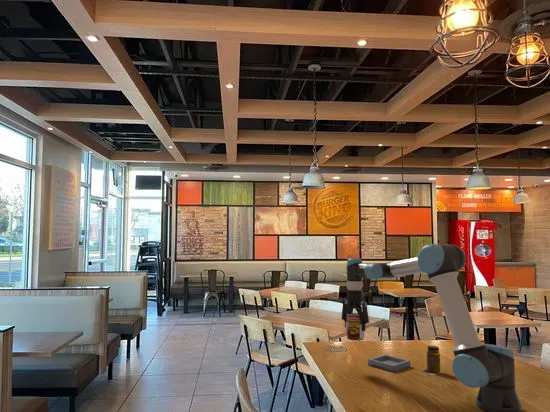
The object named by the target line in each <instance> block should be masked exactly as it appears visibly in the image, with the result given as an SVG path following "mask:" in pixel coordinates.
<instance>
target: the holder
mask: <svg viewBox="0 0 550 412" xmlns="http://www.w3.org/2000/svg"><path fill="white" fill-rule="evenodd" d="M367 366H370V367H374V368H377V369H381V370H383V371H388V372H390V373H396V372H399V371H402V370H405V369H408V368H411V360H410V359H409V360H408V359H405V358H401V357H398V356H393V355H389V354H381V355H379V356H375V357H372V358H371V357H370V358H368V359H367Z"/></svg>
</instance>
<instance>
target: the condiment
mask: <svg viewBox="0 0 550 412" xmlns="http://www.w3.org/2000/svg"><path fill="white" fill-rule="evenodd" d="M421 372H423V373H425V374H427V375H428V374H429V375H432V376H436V375H440V374H443V373H445V372H444V371H441V354H440V348H439V346H437V345H428V346H427V351H426V369H422V370H421Z"/></svg>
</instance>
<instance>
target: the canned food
mask: <svg viewBox="0 0 550 412" xmlns="http://www.w3.org/2000/svg"><path fill="white" fill-rule="evenodd" d="M360 324H361V322H360V319H359V315H358V313H357V312H352V313H351V314H348V313H347V335H346V338H347V340H349V341H355V342H356V341H357V342H358V341H363V340H364V338H360Z"/></svg>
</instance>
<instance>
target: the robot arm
mask: <svg viewBox="0 0 550 412" xmlns="http://www.w3.org/2000/svg"><path fill="white" fill-rule="evenodd" d="M466 257H467V256H466V253H465V252H464V250H463V249H462V248H461V247H460V246H458V245H456V244H448V243H447V244H445V243H443V244H442V243H441V244H440V243H431V244H426V245H424V246H423V247H422V248H420V250H419V252H418V254H417V256H415V257H410V258H405V259H400V260H399V259H398V260H394V261H389V262H363V260H362V258H348V259H347V261H346V289H347V290H346V297H347V299H343V300H342V310H341V320H342V321H344V328H345V335H346V336H347V313H348V314H351V313H353V311H354V310H355V311H356V313H358V315H359V319H360V322H361V324H360V338H363V339H364V338H365V332H366V324H369V323H370V318H369V311H368V302H366V301H365V302H364V301H363V300H362V299H363V290H362V289H363V279H367V280H378V279H394V278H397V277H403V276H409V275H417V274H423V273H424V274H426V275H427V278H428V281H429V282H431V283H433V284H434V286H435V290H436V292H437V296H438V298H439V301H440V303H441V304H440V305H441V308H442V309H443V313H444V315H445V318H446V322H447V324H448V327H449V330H450V333H451V337H452V339H453V342H454V347H453V350H452V353H453V356H454V358H453V359H452V363H451V366H452V367H451V368H452V372H453V374H454V376H455V378H456V379H457V380H458V382H460V383H462V384H463V385H464V386H466V387H467V388H473V389H476V388H479V390H478V392H477V395H476V398H475V399H476V400H475V401H476V402H475V403H476V406H477V408H479V409H480V410H482V411H485V412H522V411H523V410H522V404H521V401H520V398H519V396H518V394H517V390H516V369H515V368H516V367H515V361H516V358H515V353H514V350H512V349H511V348H509V347H506V346H501V345H495V344H490V343H489V344H488V343H485V342H482V341H481V340H480V339H479V336H478V333H477V330H476V329H475V328H476V327H475V325H474V322H473V319H472V317H471V315H470V311H469V309H468V305H467V304H466V300H465V298H464V297H465V296H464V295H463V292H462V290H461V286H460V284H459V281H458V278H457V277H458V276H459V274H460V273H459V271H460V270H462V269H463V268H464V267H465V265H466V263H467V262H466V261H467V258H466Z"/></svg>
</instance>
